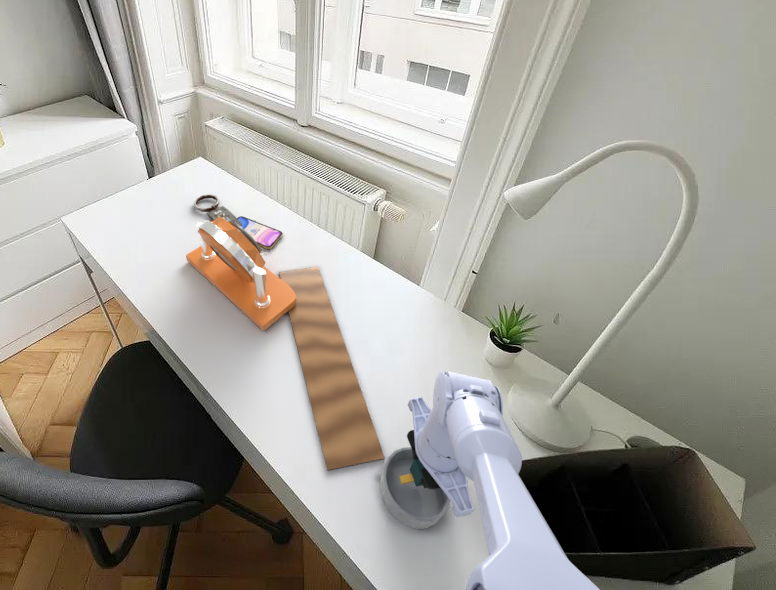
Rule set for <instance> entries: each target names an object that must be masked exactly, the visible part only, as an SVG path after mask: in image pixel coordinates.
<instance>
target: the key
mask: <svg viewBox="0 0 776 590" xmlns="http://www.w3.org/2000/svg"><path fill="white" fill-rule="evenodd" d="M421 469H425V467H424V466H423V464H422V463H421V461H420V460H419V459H415V460H414V461H413V464H412V466H411V468H410V472H411V474H407V475H403V476H399V479H400V482H401V484H406V483H410V482H414V483H415V485H416V487H418V486H422V485H423V484H422V479H423V476H422V473H421V471H420V470H421Z"/></svg>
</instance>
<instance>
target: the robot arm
mask: <svg viewBox="0 0 776 590" xmlns="http://www.w3.org/2000/svg"><path fill="white" fill-rule="evenodd" d="M432 393H433V394H432V407H431V408H430V407H429V406H428V404H427V402H426V401H425V398H424V397H423V396H417V397H413V398H412V397H411V398H409V401H408V403H407V407H408V409H409V411H410V412H411V413H412V425H413V429H411V430H408V433H407V434H406V438H407V441H408V443H409V445H410V446H409V447H411V448H412V451H413V461H414V460H415V459H419V460H420V461H421V463H422V464H423V466H424V467H425V469H421V470H420V471H421V473H422V476H423V479H422V484H423V487H424V488H428V489H438V488H441V489H442V490H443V491H444V493H445V494H446V495H447V496H448V498H449V499H450V503H452V505H453V507H452V512H453V514H454V517H455V518H461V517H466V516H470V515H471V514H472V513H473V512H474V511H475V507H474V504H473V503H472V499H471V496H470V491H469V490H470V489H469V484H468V479H469V480H471V481H473V482H474V487H475V492H476V496H477V502H478V507H479V511H480V517H481V523H482V528H483V532H484V538H485V543H486V547H487V548H486V549H487V552H488V556H487V557H486V558H485V559H483V560H482V561H481V562H480V563H478V564H476V565H475V567H473V569H472V570H471V572H470V574H469V577H468V579H467V582H466V586H465V590H601V589H600V588H599V587H598V586H597V585H595V583H594V582H593V581H591V580H590V579H589V578H588V577H587V576H586V575H585V574H584V573H582V571H581V570H580V569H578V567H577V566H576V565H574V564H573V563H572V561H570V560H569V558H568V556H567V554H566V553H565V551H564V549H563V548H562V546H561V544H560V543H559V541H558V539H557V537H556V535H555V534H554V533H553V531H552V529H551V528H550V525H549V524H548V523H547V520H546V519H545V517H544V516H543V514H542V512H541V511H540V509H539V507H538V506H537V504H536V502H535V500H534V499H533V496H532V495H531V493H530V492H529V490H528V489H527V487H526V485H525V483H524V482H523V480H522V478H521V477H520V475H519V474H520V472H521V469H522V464H523V458H522V452H521V451H520V448H519V446H518V443H516V440H515V438H514V436H513V434H512V433H511V429H510V428H509V425H508V424H507V422H506V420H505V418H504V417H503V415H504V401H503V396H502V392H501V390H500V388H499V387H498V386H497V385H494V383H493V382H492V381H491V380H490V379H486V378H482V377H477V376H471V375H467V374H462V373H457V372H453V371H449V370H447V371H445V372H443V371H442V370H439V371H438V373H437V375H436V378H435V381H434V385H433V392H432ZM467 478H468V479H467Z"/></svg>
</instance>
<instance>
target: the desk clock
mask: <svg viewBox="0 0 776 590" xmlns="http://www.w3.org/2000/svg"><path fill="white" fill-rule="evenodd" d="M195 226H196V230H197V235H198V239H199V243H200V246H199V247H197V248H196V249H194V250H192V251H190V252H189V253H187V254H186V255H185V258H186V261H187V262H188V263H189V264H190V265H191V266H192V267H193V268H195V270H196V271H198V272H199V273H200V275H202V276H203V277H204V278H205V279H206V280H207V281H208V282H209V283H211V284H212V286H214V287H215V288H216V289H217V290H218V291H219V292H220V293H221V294H222V295H224V296H225V297H226V299H228V300H229V301H230V302H231V303H232V304H234V306H235V307H237V308H238V309H239V310H240V311H241V312H242V313H243V314H244V315H245V316H247V318H248V319H249V320H250V321H252V322H253V323H254V324H255V325H256V326H257V327H258V328H259V329H260V330H262V331H263V332H265V331H266V330H268V328H270V327H271V325H273V324H274V323H275V322H277V321H278V320H279V319H281V318H282V317H283V316H284V315H285V314H286V313H289V310H290V309H291V308H293V307H294V306H295V304H296V295H295V292H294V291H293V290H292V288H291V287H290V286H289V285H287V284H286V283H285V282H284V281H282V280H281V279H280V276H277V275H276V274H275V273H274V272H272V271H271V270H270V269H269V268H267V267H266V266H265V265H266V260H265V259H264V258H263V257H262V247H261V246H259V245H258V244H257V242H256V241H255V240H254V239H253V238H252V237H251V235H250V234H249V233H248V232H247V231H245V230H244V229H243V228H242V227H241V226H240V225H238V224H237V223H235V222H234V221H232V220H228V222H227V221H226V220H225V219H223V218H222V217H219V218H217V219H215V220H213V221H212V220H211V221H210V220H204V221H203V222H200V221H199V222H196V223H195Z"/></svg>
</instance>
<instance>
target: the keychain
mask: <svg viewBox="0 0 776 590" xmlns="http://www.w3.org/2000/svg"><path fill="white" fill-rule="evenodd" d="M207 199H213V200H215V201H216V203H215V204H213V205H211V206H209V207H201V206H198V203H199V202H201V201H203V200H207ZM220 203H221V202H220V199H219V197H218V195H214V194H211V193H208V194H202V195H200V196H198V197H197V198H196V199H195V200H194V203H193V206H194V209H195V210H196V211H198V212H201V213H205V214H206V215H207V216H208V217H209V219H210V220H211V221H213V220H215V219H217V218H219V217H222V218H223V219H225V220H226V221H227V222H228V220H232V221H234V222H235V223H237V224H238V225H240V226H242V224H241V223H240V221H239V220H238V219H237V218H238V217H236V215H234V214H233V213H232V212H231V211H230V209H228V208H226V207H225V206H223V205H222V206H220Z"/></svg>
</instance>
